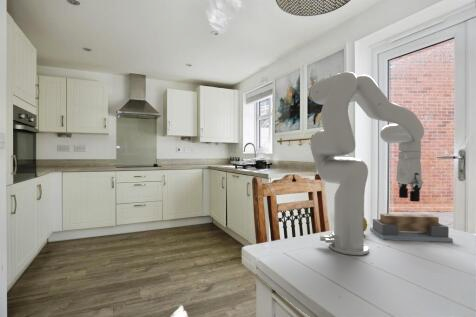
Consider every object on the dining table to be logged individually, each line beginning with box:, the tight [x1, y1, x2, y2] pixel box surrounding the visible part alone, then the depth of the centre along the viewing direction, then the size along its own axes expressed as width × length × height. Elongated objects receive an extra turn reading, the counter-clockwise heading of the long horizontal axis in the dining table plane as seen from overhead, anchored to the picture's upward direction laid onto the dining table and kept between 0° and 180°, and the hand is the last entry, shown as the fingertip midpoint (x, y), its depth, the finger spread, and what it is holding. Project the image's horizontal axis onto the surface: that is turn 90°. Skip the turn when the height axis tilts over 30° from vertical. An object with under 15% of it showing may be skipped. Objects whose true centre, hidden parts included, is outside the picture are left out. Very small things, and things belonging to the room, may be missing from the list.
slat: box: [379, 213, 440, 232], centre depth 102 cm, size 20×4×6 cm, turn 84°
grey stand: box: [369, 218, 454, 243], centre depth 102 cm, size 25×12×5 cm, turn 84°
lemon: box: [364, 217, 368, 232], centre depth 104 cm, size 6×6×8 cm
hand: (408, 199), depth 102 cm, fingers open, 7 cm apart
